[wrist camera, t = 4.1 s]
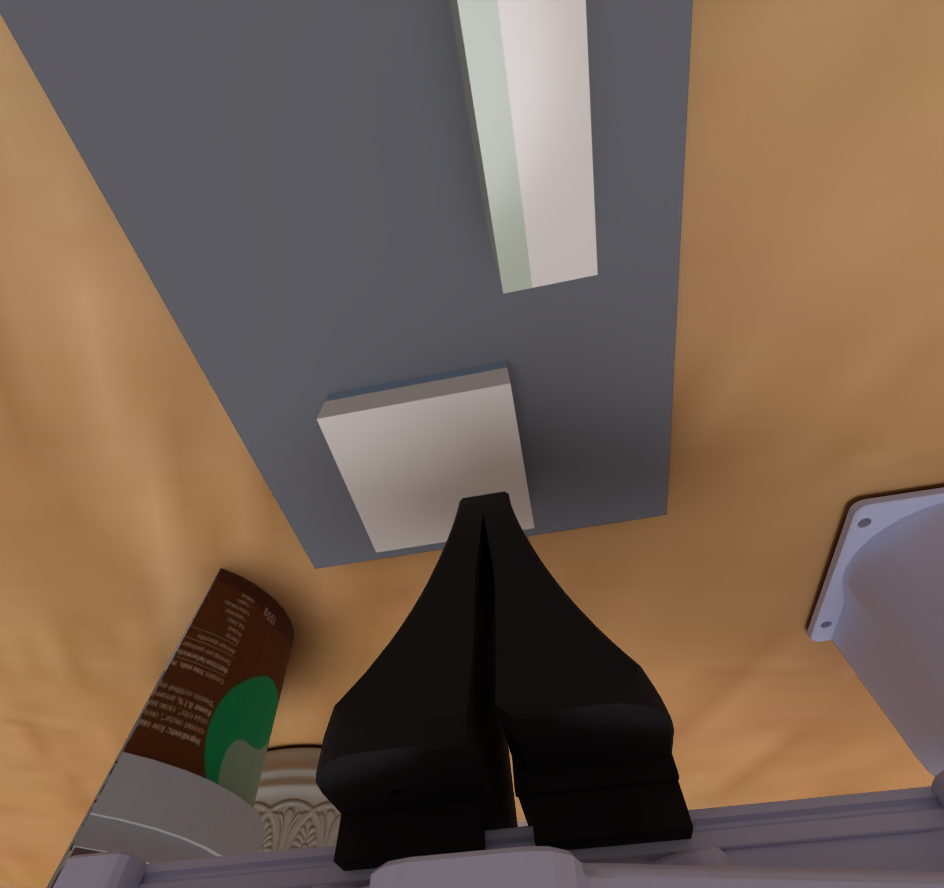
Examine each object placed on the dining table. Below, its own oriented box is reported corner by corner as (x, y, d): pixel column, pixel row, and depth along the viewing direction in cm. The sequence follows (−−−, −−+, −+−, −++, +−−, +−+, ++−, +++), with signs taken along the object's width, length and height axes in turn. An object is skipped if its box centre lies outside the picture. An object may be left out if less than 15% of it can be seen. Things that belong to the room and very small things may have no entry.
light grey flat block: (534, 528, 17) (376, 552, 18) (529, 499, 19) (382, 522, 19) (510, 383, 14) (316, 419, 14) (506, 360, 15) (328, 394, 16)
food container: (266, 710, 28) (186, 957, 20) (157, 680, 26) (16, 942, 18) (361, 597, 22) (303, 875, 14) (231, 548, 20) (75, 839, 12)
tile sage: (544, 216, 13) (598, 274, 8) (486, 228, 13) (503, 293, 8) (513, -105, 10) (570, -351, 5) (435, -83, 10) (409, -299, 5)
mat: (662, 508, 20) (666, 514, 19) (317, 561, 21) (315, 568, 21) (704, -418, 8) (715, -442, 8) (-84, -161, 9) (-105, -171, 9)
